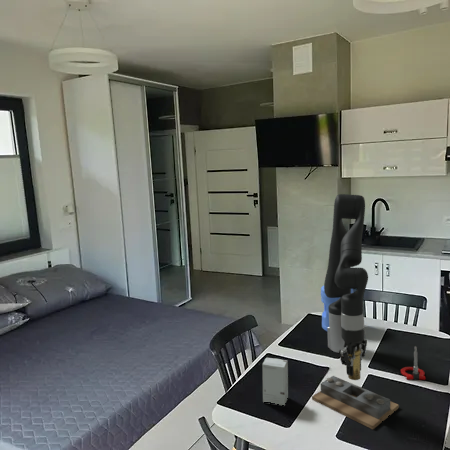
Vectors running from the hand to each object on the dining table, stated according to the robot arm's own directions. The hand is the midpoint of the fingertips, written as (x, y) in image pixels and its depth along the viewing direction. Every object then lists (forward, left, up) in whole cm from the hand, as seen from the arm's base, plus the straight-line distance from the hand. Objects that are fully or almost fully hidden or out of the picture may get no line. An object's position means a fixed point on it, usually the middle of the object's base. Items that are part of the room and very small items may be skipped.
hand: (353, 372), depth 144 cm
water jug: (-42, +50, -12) cm, 66 cm away
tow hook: (+5, +32, -12) cm, 34 cm away
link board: (0, 0, -12) cm, 12 cm away
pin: (0, 0, -2) cm, 2 cm away
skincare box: (-21, -17, -12) cm, 30 cm away
